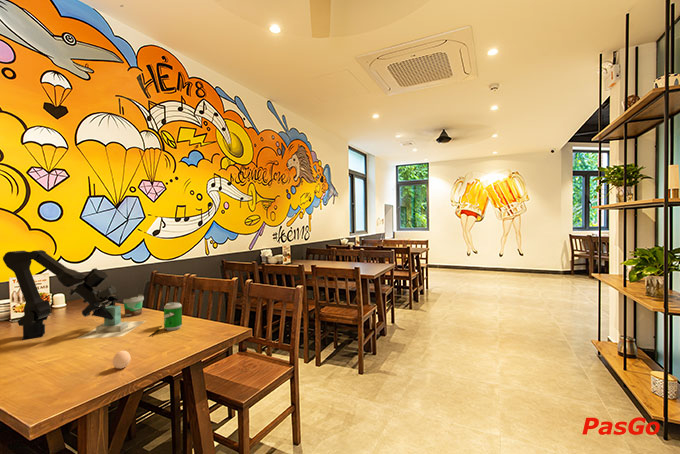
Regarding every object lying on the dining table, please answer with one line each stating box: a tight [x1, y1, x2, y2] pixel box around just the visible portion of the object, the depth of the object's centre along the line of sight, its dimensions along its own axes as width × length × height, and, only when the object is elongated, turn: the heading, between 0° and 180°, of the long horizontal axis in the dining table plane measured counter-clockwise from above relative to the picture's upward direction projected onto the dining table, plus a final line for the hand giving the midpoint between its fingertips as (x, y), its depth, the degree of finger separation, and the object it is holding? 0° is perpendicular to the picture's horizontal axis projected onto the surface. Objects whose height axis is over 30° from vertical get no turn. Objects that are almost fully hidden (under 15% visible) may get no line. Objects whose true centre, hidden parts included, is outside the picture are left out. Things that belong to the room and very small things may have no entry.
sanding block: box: [95, 305, 129, 333], centre depth 142 cm, size 10×6×10 cm, turn 98°
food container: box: [122, 294, 145, 318], centre depth 171 cm, size 12×6×10 cm, turn 179°
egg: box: [112, 350, 131, 370], centre depth 106 cm, size 5×5×6 cm
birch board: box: [76, 320, 147, 340], centre depth 143 cm, size 18×22×2 cm
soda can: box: [163, 301, 183, 332], centre depth 147 cm, size 8×8×12 cm
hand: (115, 317), depth 142 cm, fingers closed on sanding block, 4 cm apart
